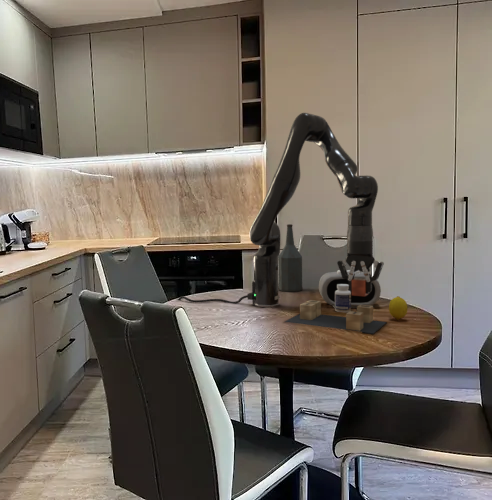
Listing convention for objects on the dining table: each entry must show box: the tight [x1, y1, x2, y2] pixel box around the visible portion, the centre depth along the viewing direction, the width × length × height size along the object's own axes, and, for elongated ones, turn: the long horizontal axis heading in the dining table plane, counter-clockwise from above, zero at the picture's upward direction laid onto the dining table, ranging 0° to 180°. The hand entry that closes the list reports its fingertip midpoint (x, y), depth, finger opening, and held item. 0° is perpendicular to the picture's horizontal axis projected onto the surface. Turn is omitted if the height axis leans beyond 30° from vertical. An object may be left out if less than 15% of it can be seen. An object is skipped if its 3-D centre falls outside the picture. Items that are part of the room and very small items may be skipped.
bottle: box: [278, 223, 303, 293], centre depth 219 cm, size 10×10×30 cm
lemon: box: [388, 296, 409, 321], centre depth 161 cm, size 6×6×8 cm
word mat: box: [284, 313, 388, 335], centre depth 161 cm, size 28×16×1 cm, turn 50°
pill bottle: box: [334, 284, 352, 314], centre depth 176 cm, size 5×5×10 cm
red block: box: [352, 278, 368, 296], centre depth 155 cm, size 4×4×5 cm
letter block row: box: [345, 305, 374, 332], centre depth 156 cm, size 4×15×5 cm, turn 140°
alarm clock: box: [318, 269, 382, 309], centre depth 184 cm, size 21×10×13 cm, turn 76°
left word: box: [299, 299, 322, 320], centre depth 169 cm, size 4×9×5 cm, turn 140°
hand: (360, 292), depth 155 cm, fingers closed on red block, 4 cm apart
